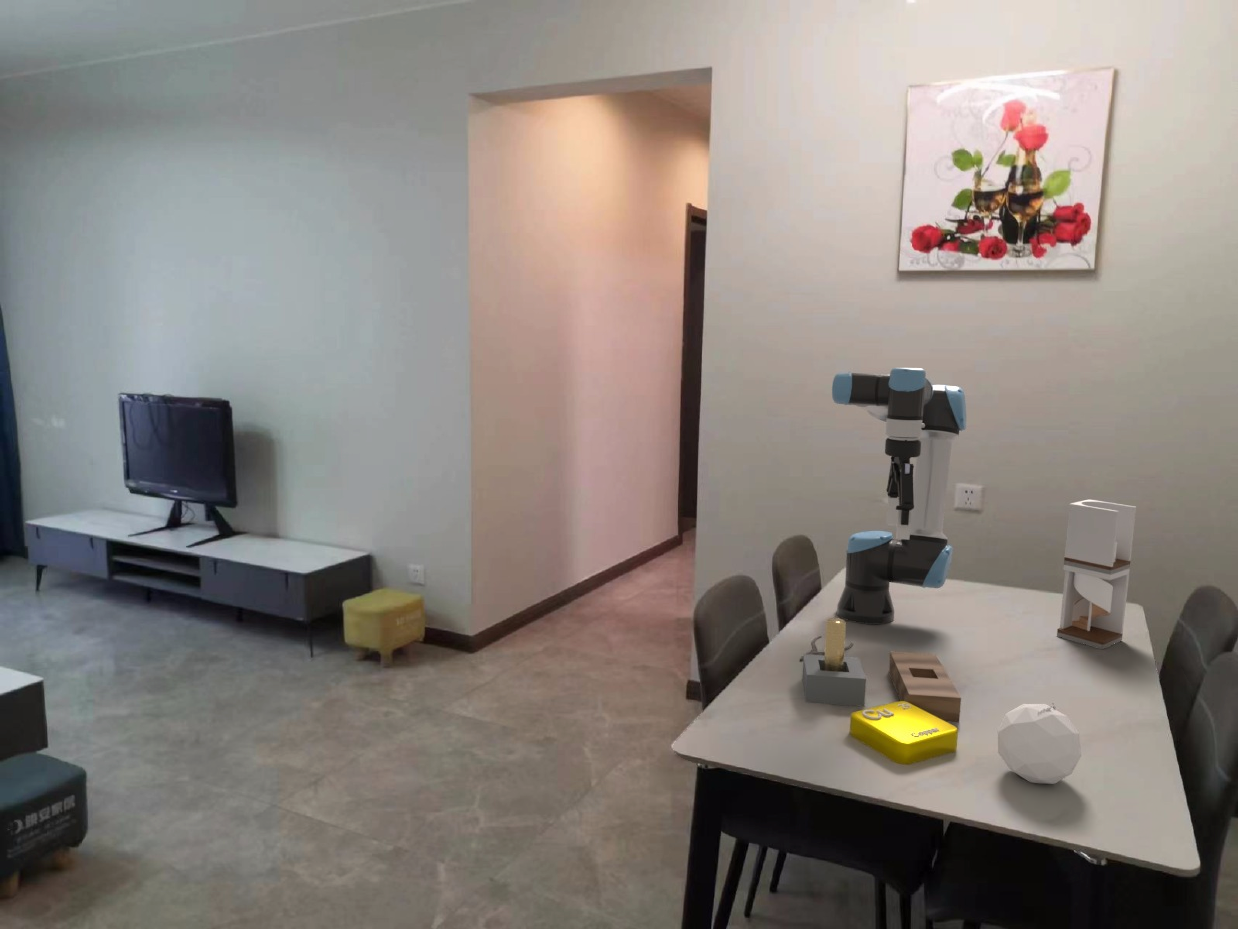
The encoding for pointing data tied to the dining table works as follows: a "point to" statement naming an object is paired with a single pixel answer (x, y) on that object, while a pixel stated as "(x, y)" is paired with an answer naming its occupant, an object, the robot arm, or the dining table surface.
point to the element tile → (903, 732)
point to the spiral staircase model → (1096, 572)
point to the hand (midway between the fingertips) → (897, 532)
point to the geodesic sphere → (1039, 743)
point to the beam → (925, 684)
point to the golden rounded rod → (834, 645)
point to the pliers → (814, 652)
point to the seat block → (833, 682)
